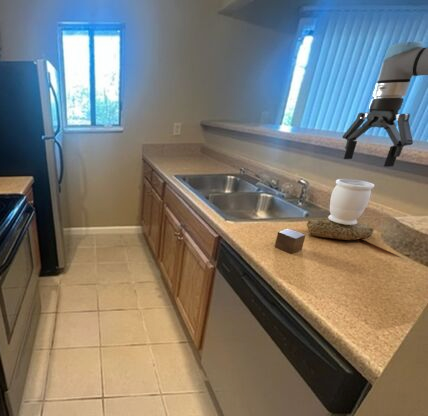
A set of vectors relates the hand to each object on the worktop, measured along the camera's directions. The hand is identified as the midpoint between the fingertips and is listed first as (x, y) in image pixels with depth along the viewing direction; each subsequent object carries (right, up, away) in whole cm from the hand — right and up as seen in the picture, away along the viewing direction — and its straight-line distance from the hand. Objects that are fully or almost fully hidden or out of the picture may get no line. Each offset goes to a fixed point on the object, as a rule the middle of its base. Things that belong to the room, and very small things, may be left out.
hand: (366, 162), depth 96 cm
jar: (-3, -21, +6) cm, 22 cm away
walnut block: (-27, -31, +1) cm, 41 cm away
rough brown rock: (-3, -27, +9) cm, 29 cm away
